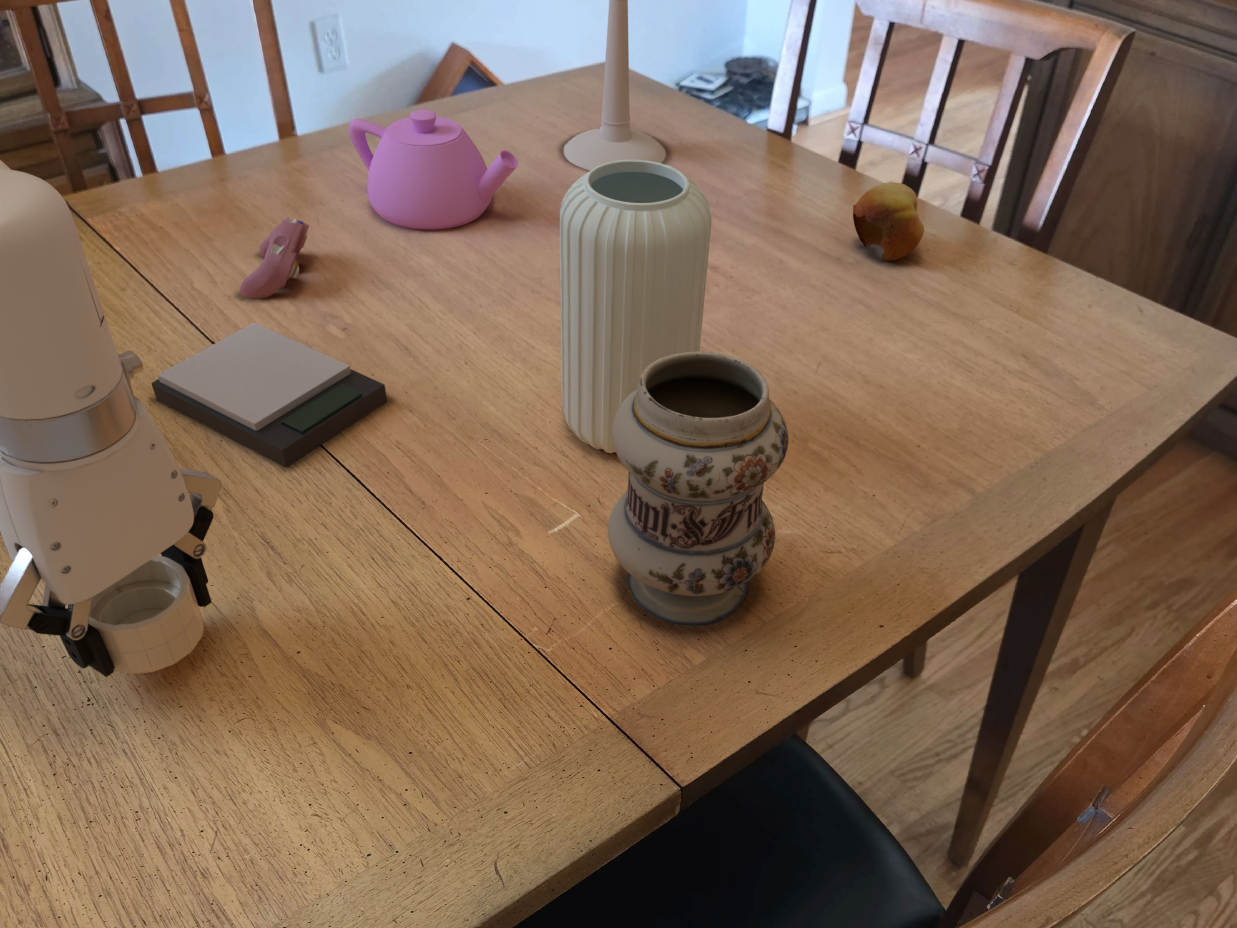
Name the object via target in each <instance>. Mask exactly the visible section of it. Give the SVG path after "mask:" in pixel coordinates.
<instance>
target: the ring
mask: <svg viewBox="0 0 1237 928" xmlns="http://www.w3.org/2000/svg"><path fill="white" fill-rule="evenodd" d="M204 623H205V622H204V617H203V615H202V612H201V609H200V606H198V603H197V600H196V597H195V594H194V591H193V587H192V584H191V581H190V578H189V577H188V575H187V573H186V571H185V569H184V567H183V566H182V565H180V564H178V563H177V562H175V561H173V560H172V559H170V558H168V557H164V556H162V555H160V554H158V555H157V556H155V557H154V558H152V559H151V560H149V561H148V562H146V563H145V564H143V565H142V566H140V567H139V568H137V569H136V570H134V571H133V572H131V573H130V574H128V575H127V576H125V577H123V578H122V579H120V580H119V581H117V582H116V583H114V584H113V585H111V586H109V587H108V588H106V589H105V590H103V591H101V592H100V593H98V594H96V595H95V596H93V597H92V604H91V610H90V616H89V624H90V625H92V626H93V627H95V628H96V629H97V630H98V631H99V632H100V634H101V637H102V639H103V641H104V644H105V646H106V648H107V650H108V653H109V655H110V657H111V660H112V662H113V664H114V666H115V669H114V672H118V673H122V674H127V675H136V674H146V673H153V672H157V671H159V670H162V669H165V668H168V667H170V666H173V665H175V664H178V662H180V661H181V660H182V659H184V658H185V657H187V656H188V655H189V654H191V652H192V651H194V649H195V648H196V646H197V645H198V643H199V642H200V640H201V639H202V638H203V633H204Z"/></svg>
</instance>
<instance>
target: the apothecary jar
mask: <svg viewBox="0 0 1237 928" xmlns="http://www.w3.org/2000/svg"><path fill="white" fill-rule="evenodd" d="M788 431H789V430H788V426H787V424H786V421H785V419H784V417H783V414H782V412H781V411H780V410H779V408H778V407H777V406H776V405H775V403H774V402H773V401H772V400H771V399H770V389H769V384H768V381H767V380H766V377H765V376H764V375H763V374H762V373H761V371H760V370H758V368H756V367H755V366H753V365H752V364H750V363H748V362H746V361H745V360H742V359H740V358H737V357H735V356H732V355H729V354H725V353H720V352H713V351H700V352H685V353H679V354H674V355H670V356H666V357H664V358H661V359H658V360H657V361H655V362H653V363H652V364H650V365H649V366H648V367H647V368H646V369H645V370H644V371H643V373H642V375H641V377H640V380H639V384H638V389H636V390H635V391H634V392H632V393H631V394H630V395H629V396H628V397H627V398H626V399H625V400H624V401H623V403H622V404H621V405H620V407H619V409H618V410H617V412H616V414H615V417H614V420H613V425H612V439H613V444H614V448H615V451H616V456H617V458H618V460H619V462H620V463H621V464H622V466H623V467H624V468H625V470H627V471H628V475H627V490H626V491H624V492H623V493H622V495H620V497H619V498H618V499H617V500H616V502H615V504H614V506H613V508H612V509H611V512H610V514H609V517H608V521H607V522H608V524H607V538H608V542H609V545H610V549H611V551H612V553H613V555H614V557H615V560H617V562H618V563H619V564H620V566H621V567H622V568H623V569H624V570H625V571H626V572H627V586H628V589H629V593H630V594H631V596H632V598H633V600H634V601H635V602H636V604H638V605H639V607H640V608H642V609H643V610H644V611H645V612H646V613H648V614H649V615H651V616H653V617H655V618H656V619H658V620H661V621H664V622H667V623H670V624H674V625H680V626H685V627H686V626H687V627H701V626H708V625H713V624H716V623H719V622H722V621H724V620H726V619H728V618H729V617H731V616H732V615H734V614H735V613H736V612H737V611H739V609H741V607H742V606H744V603H745V602H746V601H747V599H748V597H749V594H750V590H751V582H750V581H751V580H752V579H753V578H754V577H756V576H757V575H758V574H759V573H760V572H761V571H762V570H763V569H764V567H765V566H766V565H767V564H768V562H769V560H770V558H771V556H772V554H773V550H774V547H775V543H776V528H775V523H774V519H773V517H772V514H771V512H770V509H769V508H768V506H767V505H766V503H765V502H764V500H763V495H764V494H763V493H764V483H766V482H767V481H768V480H770V478H772V476H774V475H775V474H776V473H777V471H778V470H779V469H780V467H781V466H782V464H783V462H784V460H785V458H786V456H787V453H788V448H789V432H788Z"/></svg>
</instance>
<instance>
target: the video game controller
mask: <svg viewBox="0 0 1237 928" xmlns="http://www.w3.org/2000/svg"><path fill="white" fill-rule="evenodd" d="M309 227H310V224H308V223H305V222H304V221H302V220H298V219H297V218H295V219H291V218H290V217H289V216H286V218H285V219H283V220H282V221H281V222H280V223H279V224H278V225H276V226H275V227H274V228H273V229H272V230H271V231H270V233H269V235H268V236H267V237H266V238H264V239H263V241H262V242H261V244H260V246H259V254H260V257H262V258H263V260H262V261H261V263H260V264H259V266H258V267H256V269H254V270H253V272H252V273H250V274H249V275H248V276H246V277H245V278H244V279H243V280H242V283H241V284H240V287H239V291H240V292H239V293H240V296H241V297H242V298H246V299H252V300H253V299H255V300H257V299H267V298H270V297H271V296H273V295H274V294H275V293H276V292H278V290H279V289H282V290H284V289H285V288H286V287H285V286H286V284H287V282H288V281H289V279H290V278H291V277H292V276H293V279H295V278H296V277H298V276H299V273H300V266H299V262H298V261H297V260H298V257H299V255H300V252H301V250H302V249H304V246H305V244H306V241H307V239H308V236H307V235H308V231H309Z"/></svg>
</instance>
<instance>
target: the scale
mask: <svg viewBox="0 0 1237 928" xmlns="http://www.w3.org/2000/svg"><path fill="white" fill-rule="evenodd" d="M157 378H158V379H156V380H154V381H153V382H151V386H152V390H153V393H154V396H155V399H156V401H157V402H159V403H161V404H163V405H165V406H166V407H169V408H171V409H173V410H174V411H176V412H178V413H180V414H181V415H184V416H185V417H188V418H190V419H192V420H194V421H196V422H198V423H199V424H201V425H204V426H205V427H207V428H209V429H211V430H213V431H215V432H217V433H219V434H220V435H222V436H225V437H226V438H228V439H231V440H233V441H234V442H236V443H238V444H240V445H242V446H244V447H246V448H248V449H250V450H252V451H254V452H256V453H257V454H260V455H261V456H263V457H265V458H267V459H269V460H271V461H273V462H275V463H277V464H279V465H280V466H283V467H284V468H288V467H289V466H291V465H293V464H294V463H296V462H297V461H299V460H300V459H302V458H304V457H306V456H307V455H308V454H309V453H311V452H313V451H314V450H316V449H318V447H320V446H322V445H323V444H324V443H326V442H328V441H329V440H331V439H333V438H334V437H336V436H337V435H338V434H340V433H342V432H343V431H344V430H346V429H347V428H350V427H351V426H353V425H354V424H355V423H357V422H358V421H360V420H361V419H363V418H365V417H366V416H368V415H369V414H370V413H372V412H374V411H376V410H377V409H378V408H379V407H381V406H383V405H384V404H386V403H387V402H388V398H387V397H388V396H387V392H386V391H387V390H386V385H385V384H384V383H382V382H380V381H378V380H376V379H373V378H371V377H370V376H367V375H365V374H363V373H360V372H358V371H356V370H354V369H352V368H351V365H349V364H347V363H346V362H342V361H341V360H338V359H336V358H334V357H331V356H329V355H328V354H325V353H323V352H321V351H318V350H316V349H314V348H313V347H310V346H308V345H306V344H303V343H301V342H300V341H297V340H295V339H292V338H290V337H288V336H285V335H284V334H281V333H279V332H277V331H275V330H273V329H271V328H268V327H267V326H263V325H262V324H259V323H258V322H253V323H251V324H249V325H246V326H245V327H242V328H241V329H239V330H237V331H236V332H234V333H232V334H230V335H228V336H226V337H224V338H223V339H221V340H219V341H217V342H215V343H213V344H212V345H209V346H208V347H206V348H204V349H202V350H200V351H198V352H197V353H195V354H193V355H191V356H189V357H187V358H185V359H184V360H182V361H180V362H177V363H176V364H174V365H172V366H170V367H169V368H167V369H165V370H163V371H161V372H160V373H158V374H157Z"/></svg>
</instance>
